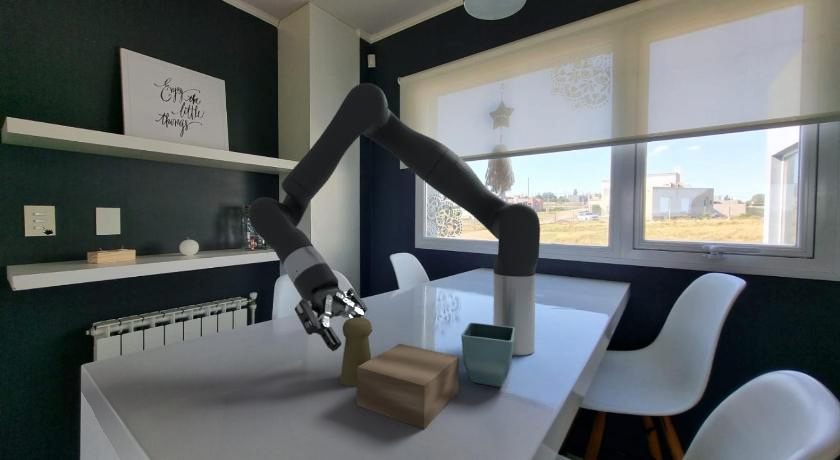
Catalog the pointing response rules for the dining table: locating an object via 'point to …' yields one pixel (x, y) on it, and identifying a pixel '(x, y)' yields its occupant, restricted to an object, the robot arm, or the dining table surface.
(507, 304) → the robot arm
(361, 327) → the cork
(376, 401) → the walnut block
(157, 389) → the dining table surface
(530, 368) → the dining table surface
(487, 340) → the flower pot
